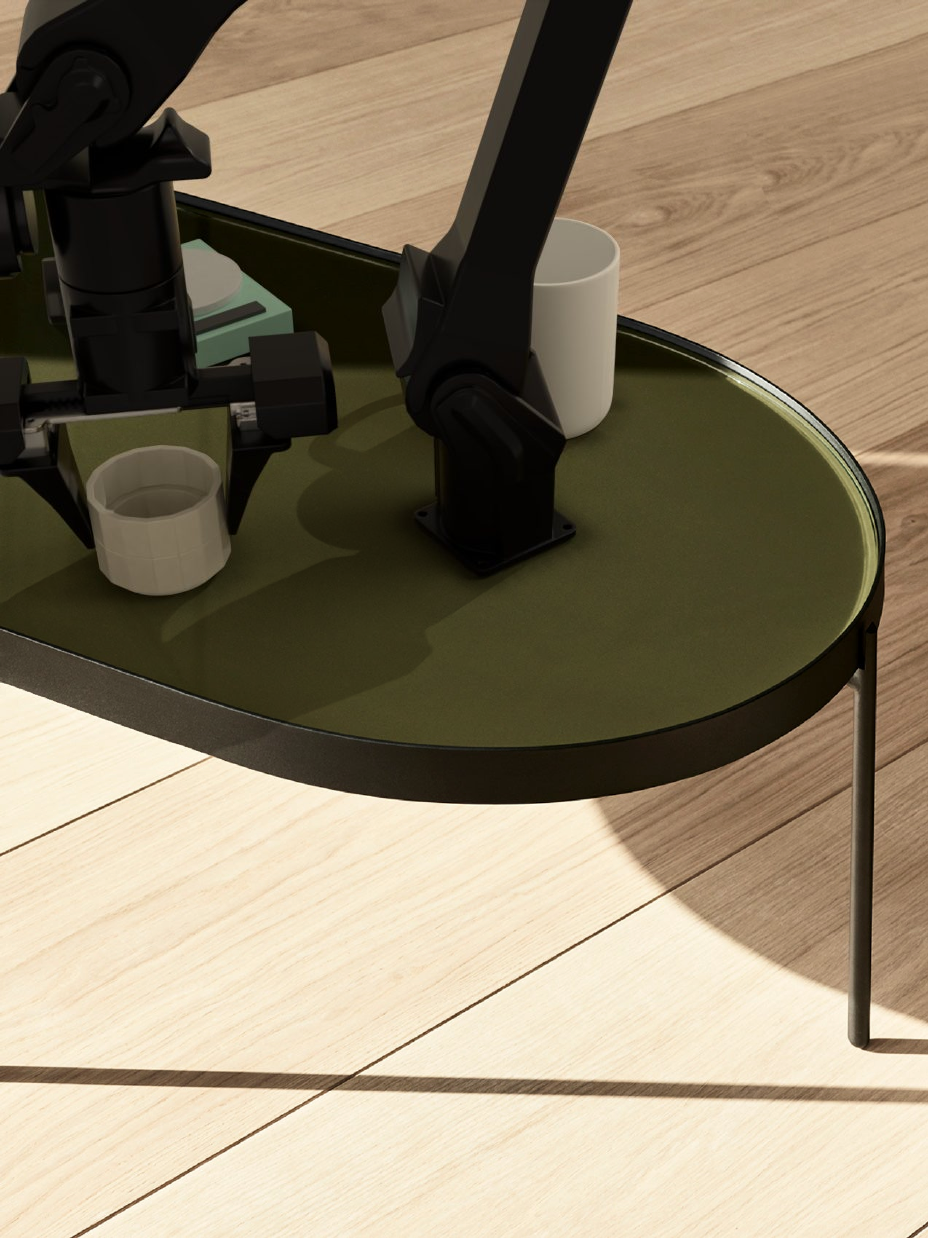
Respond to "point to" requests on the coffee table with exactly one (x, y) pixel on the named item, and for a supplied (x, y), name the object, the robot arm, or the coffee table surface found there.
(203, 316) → the scale
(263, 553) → the coffee table surface
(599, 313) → the cup
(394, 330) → the robot arm
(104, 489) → the bowl
